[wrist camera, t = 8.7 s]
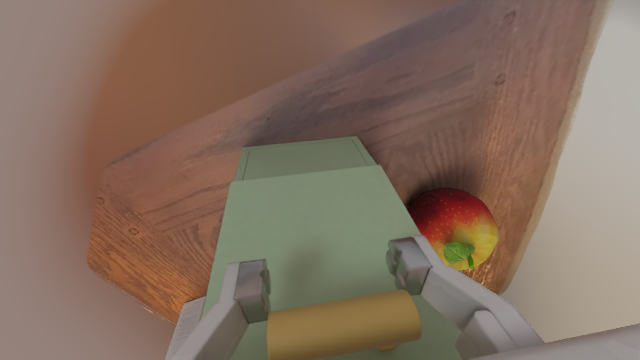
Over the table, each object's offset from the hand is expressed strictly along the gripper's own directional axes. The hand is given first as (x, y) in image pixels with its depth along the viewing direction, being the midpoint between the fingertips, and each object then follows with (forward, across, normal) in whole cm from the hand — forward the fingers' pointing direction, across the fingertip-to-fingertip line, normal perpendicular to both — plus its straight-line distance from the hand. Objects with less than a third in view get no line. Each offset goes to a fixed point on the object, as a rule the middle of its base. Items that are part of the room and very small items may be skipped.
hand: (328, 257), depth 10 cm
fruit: (+18, -18, +15) cm, 29 cm away
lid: (+3, 0, +3) cm, 5 cm away
